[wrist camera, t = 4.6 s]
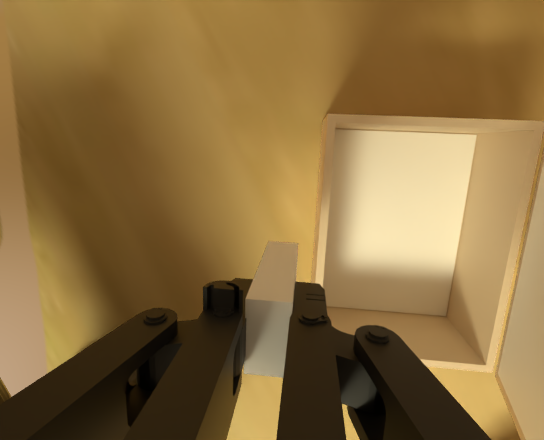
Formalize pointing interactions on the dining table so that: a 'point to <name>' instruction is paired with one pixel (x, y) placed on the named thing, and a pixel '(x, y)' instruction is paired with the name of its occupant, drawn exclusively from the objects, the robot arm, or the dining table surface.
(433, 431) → the robot arm
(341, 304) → the box
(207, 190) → the dining table surface
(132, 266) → the dining table surface
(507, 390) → the lid
